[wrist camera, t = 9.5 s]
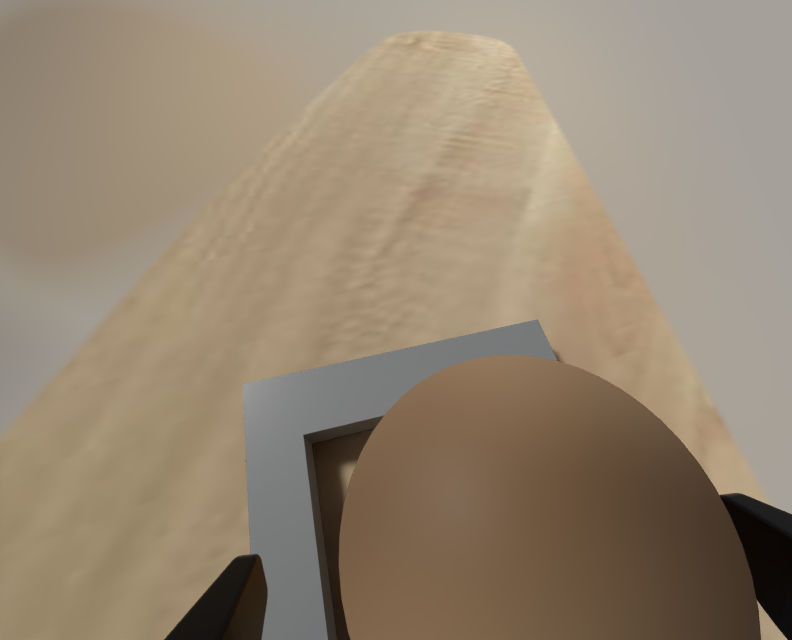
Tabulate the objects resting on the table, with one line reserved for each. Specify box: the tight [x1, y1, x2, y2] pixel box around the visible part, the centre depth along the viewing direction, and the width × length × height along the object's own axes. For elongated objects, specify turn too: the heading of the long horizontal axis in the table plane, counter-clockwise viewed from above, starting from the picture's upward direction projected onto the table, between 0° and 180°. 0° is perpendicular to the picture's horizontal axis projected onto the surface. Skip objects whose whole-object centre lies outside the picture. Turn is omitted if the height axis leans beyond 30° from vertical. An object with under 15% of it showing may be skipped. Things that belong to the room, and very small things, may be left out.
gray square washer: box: [242, 320, 558, 640], centre depth 16 cm, size 16×15×2 cm
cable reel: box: [339, 355, 761, 640], centre depth 11 cm, size 7×7×13 cm
